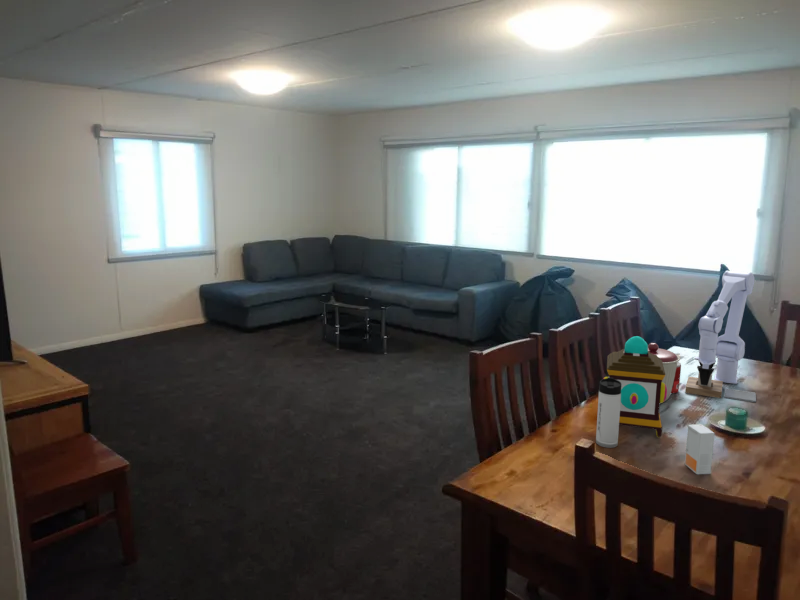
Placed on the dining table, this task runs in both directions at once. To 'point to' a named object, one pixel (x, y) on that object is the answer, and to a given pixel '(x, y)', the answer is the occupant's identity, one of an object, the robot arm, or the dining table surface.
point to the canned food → (676, 379)
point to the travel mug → (608, 413)
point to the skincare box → (699, 449)
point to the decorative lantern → (638, 384)
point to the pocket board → (704, 388)
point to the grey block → (708, 382)
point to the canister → (666, 365)
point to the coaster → (740, 395)
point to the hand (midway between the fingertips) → (704, 382)
